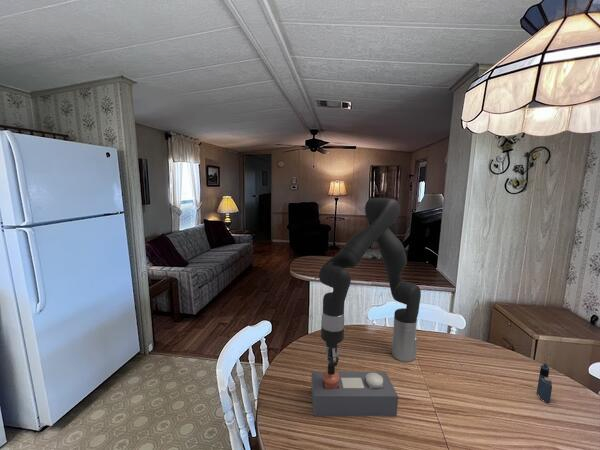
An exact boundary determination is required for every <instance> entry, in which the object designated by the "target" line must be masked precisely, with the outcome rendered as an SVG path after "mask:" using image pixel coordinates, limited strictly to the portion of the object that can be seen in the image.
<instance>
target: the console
mask: <svg viewBox="0 0 600 450" xmlns="http://www.w3.org/2000/svg"><path fill="white" fill-rule="evenodd" d="M323 372H324V371H311V378H310V379H311V382H310V383H311V384H310V391H311V403H312V413H313V417H397V416H398V406H399V405H398V403H399V396H398V394H397V391H396V389H395V387H394V385H393V383H392V381H391V379H390V378H389V376H388V374H387V371H336V372H337V373H338V375H339V382H338V388H324V386H323V380H322V375H323ZM368 373H377V374H379V375H380V376H382V378H383V385H382V386H383V389H369V387H368V385H367V383H366V375H367V374H368Z"/></svg>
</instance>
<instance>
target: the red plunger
mask: <svg viewBox="0 0 600 450" xmlns="http://www.w3.org/2000/svg"><path fill="white" fill-rule="evenodd" d="M322 372H323V375H322V380H323V386H324V388H338V382H339V375H338V373H337V372H338V371H335V374H334V375H329V374H328V369H327V370H325V371H322Z"/></svg>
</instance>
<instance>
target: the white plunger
mask: <svg viewBox="0 0 600 450" xmlns="http://www.w3.org/2000/svg"><path fill="white" fill-rule="evenodd" d="M366 383H367V385H368V387H369V389H383V386H382V385H383V378H382V376H380V375H379V374H377V373H368V374H367V375H366Z"/></svg>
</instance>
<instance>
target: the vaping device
mask: <svg viewBox="0 0 600 450" xmlns="http://www.w3.org/2000/svg"><path fill="white" fill-rule="evenodd" d="M549 374H550V367H549V366H548V364H546V363H543V364H542V365H540V369H539V374H538V380H537V381H538V383H537V388H536V394H537V393H538V395H539V396H540V398H541V399H542V400H544V401H546V402H549V403H550V402H551V398H552V397H551V396H552V390H553V383H552V379H551V378H550V377H549V376H550V375H549ZM538 395H537V396H538ZM539 396H538V397H539ZM540 398H539V399H540ZM541 399H540V400H541ZM542 400H541V401H542ZM546 402H545V403H546Z"/></svg>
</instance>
